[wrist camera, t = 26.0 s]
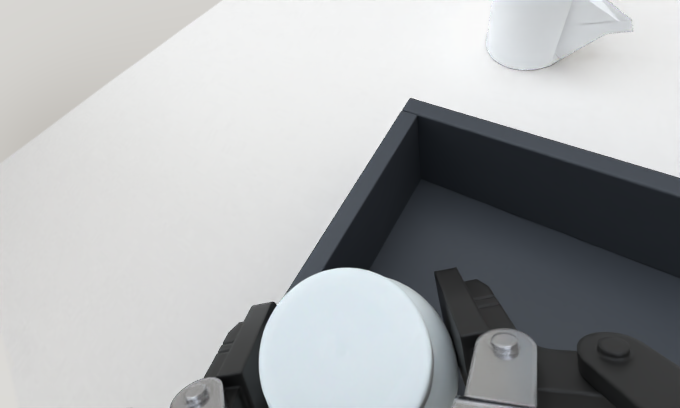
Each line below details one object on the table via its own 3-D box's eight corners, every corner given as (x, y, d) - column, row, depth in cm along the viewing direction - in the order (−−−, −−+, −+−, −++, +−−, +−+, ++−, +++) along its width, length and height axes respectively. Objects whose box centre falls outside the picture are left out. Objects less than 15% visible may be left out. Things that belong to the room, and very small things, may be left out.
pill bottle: (477, 402, 16) (527, 388, 8) (371, 485, 15) (299, 568, 7) (397, 296, 19) (370, 200, 10) (304, 364, 18) (195, 320, 10)
